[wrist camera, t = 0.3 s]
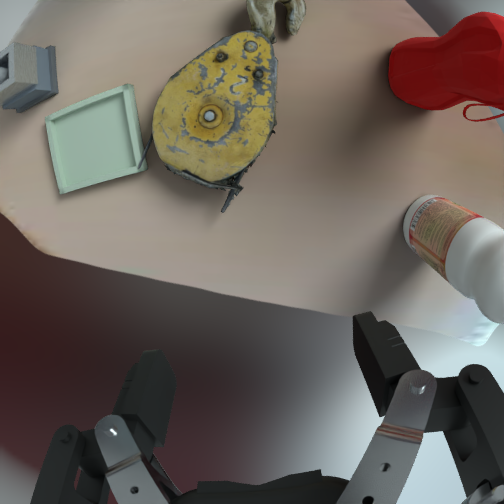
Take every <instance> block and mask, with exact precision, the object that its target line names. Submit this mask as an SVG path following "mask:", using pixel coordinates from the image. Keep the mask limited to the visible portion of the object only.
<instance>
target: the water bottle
mask: <svg viewBox="0 0 504 504" xmlns="http://www.w3.org/2000/svg"><path fill="white" fill-rule="evenodd" d="M388 78H389V83H390V88H391V89H392V91H393V92H394V94H395V96H397V97H398V98H400V99H402V100H403V101H405V102H406V103H408V104H411V105H414V106H417V107H420V108H423V109H427V110H444V109H447V108H450V107H452V106H455V105H457V104H459V103H462V102H464V101H477V102H480V103H483V104H469V105H467V106H466V107H465V108H464V110H463V116H464V117H465V118H466V119H468V118H467V117H466V110H467V109H468V108H469V107H470V106H476V105H480V106H492V107H495V108H498V109H500V110H503V111H504V17H503V16H500V15H498V14H495V13H489V12H478V13H475V14H473V15H470V16H467V17H465V18H463V19H462V20H461V21H460V22H459V23H458V24H456V26H454V27H453V28H452V29H451V30H450V31H449V32H448V33H447V34H445V35H443V36H441V37H415V38H410V39H407V40H404V41H402V42H400V43H398V44H396V45H395V47H394V48H393V49H392V52H391V55H390V58H389V72H388ZM501 116H504V113H503V114H500V115H497V116H493V117H490V118H486V119H480V120H470V119H468V120H470V121H475V122H476V121H477V122H478V121H486V120H491V119H495V118H499V117H501Z"/></svg>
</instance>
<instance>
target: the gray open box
mask: <svg viewBox="0 0 504 504" xmlns="http://www.w3.org/2000/svg"><path fill="white" fill-rule="evenodd" d="M0 67H3V68H9V79H7V80H6V81H4V82H3V83H1V84H0V107H1V106H3V105H4V104H6V103H7V102H9V101H10V100H12V99H13V98H15V97H17V96H18V95H20V94H21V93H23V92H25V91H27V90H28V89H30V88H32V87H33V86H35V85H37V84H38V77H37V58H36V47H32V46H28V45H24V44H20V43H16V42H14V43H12V44H11V45H9V46H8V47H7V48H5V49H4V50H3V51H1V52H0Z"/></svg>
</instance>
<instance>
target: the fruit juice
mask: <svg viewBox="0 0 504 504" xmlns="http://www.w3.org/2000/svg"><path fill="white" fill-rule="evenodd" d="M403 233H404V237H405V240H406V242H407V244H408V246H409V247H410V248H411V249H412V250H413V251H414V252H415V253H416V254H417V255H418V256H420V257H421V258H422V259H423V260H424V261H425V262H426V263H428V264H429V265H430V266H431V267H432V268H433V269H434V270H435V271H437V272H438V273H439V274H440V275H441V276H442V277H443V278H444V279H445V280H446V281H448V282H449V283H450V284H451V285H452V286H453V287H454V288H455V289H456V290H457V291H458V292H460V293H461V294H462V295H464V296H465V297H467V298H469V299H473V300H475V302H476V304H477V306H478V308H479V310H480V311H481V312H482V314H483V315H484V316H485V317H487V318H488V319H489V320H491V321H493V322H495V323H499V324H504V230H503V229H502V228H501V227H499V226H498V225H497V224H495V223H493V222H492V221H490V220H488V219H486V218H484V217H482V216H480V215H478V214H476V213H474V212H472V211H470V210H468V209H466V208H464V207H462V206H460V205H458V204H456V203H454V202H451V201H449V200H447V199H445V198H443V197H441V196H437V195H425V196H422V197H420V198H419V199H417V200H416V201H415V202H414V203H413V204H412V205H411V206H410V208H409V209H408V211H407V213H406V215H405V218H404V223H403Z"/></svg>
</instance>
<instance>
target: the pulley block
mask: <svg viewBox="0 0 504 504" xmlns="http://www.w3.org/2000/svg"><path fill="white" fill-rule="evenodd" d="M276 1H280V2H281V3H283V4H284V5H285V7H286V9H287V16H286V29H287V32H288V33H289V34H291V35H295V34H297V32H298V30H299V27H300V25H301V23H302V21H303V19H304V16H305V14H306V5H305V1H304V0H247V1H246V3H247V11H248V14H249V18H250V22H251V31H249V30H248V31H241V32H238V33H236V34H233V35H231V36H228V37H224V38H222V39H221V40H219V41H218V42H217V43H215V44H214V45H212V46H211V47H210V48H208V49H207V50H205V51H204V52H203V53H201V54H200V55H199V56H197V57H196V58H195V59H193V60H192V61H191V62H189V63H188V64H187V65H185V66H184V67H183V68H181V69H180V70H179V71H178V72H176V73H175V74H174V75H173V76H171V77H170V79H169V81H168V83H167V84H166V86H165V88H164V90H163V91H162V93H161V95H160V97H159V99H158V101H157V104H156V106H155V109H154V114H153V122H152V134H151V137H150V139H149V142H148V144H147V146H146V148H145V150H144V153H143V156H142V158H141V161H140V163H139V167H138V169H139V168H140V167H141V165H142V163H143V161H144V158H145V155H146V153H147V150H148V148H149V146H150V144H151V143H152V140H153V139H154V143H155V147H156V150H157V152H158V155H159V157H160V159H161V160H162V161H163V162H164V163H165V164H166V165H167V166H165V165H164V166H165V167H166V168H167V170H170V169H171V170H172V172H173V173H174V174H178V175H180V176H183V178H184V179H187V180H192V181H194V182H196V183H197V184H200V185H204V186H207V187H209V188H216V189H218V188H220V189H221V190H224V191H226V190H225V189H224V188H228V189H231V190H230V191H229V193H228V197H227V199H226V201H225V204H224V206H223V208H222V210H221V212H222V213H224V212H225V210H226V208H227V207H228V206H229V205H230V202H231V200H232V199H234V194H235V195H236V196H237V195H238V194H239V192H240V191H241V190H242V189H243V188H244V187H242V186H240V185H239V182H240V181H241V179H242V177H243V174H244V172H245V173H246V172H247V170H248V167H249V166H250V165H251V166H252V165H253V163H254V162H255V159H256V158H257V157H258V156H260V152H261V151H262V150H263V148H264V146H265V147H266V144H267V142H268V140H269V138H270V136H271V134H272V133H274V134H275V131H273V130H272V129H273V128H274V126H275V125H277V122H276V113H275V108H276V102H277V101H276V87H277V72H278V60H277V59H276V57H275V56H274V50H273V46H272V44H273V43H275V42H276V41H277V40H276V37H275V35H274V27H275V21H276V11H275V3H276ZM251 166H250V167H251ZM168 167H169V168H170V169H169V168H168ZM171 170H170V171H171ZM233 179H234V181H233ZM227 185H231V186H227Z"/></svg>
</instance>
